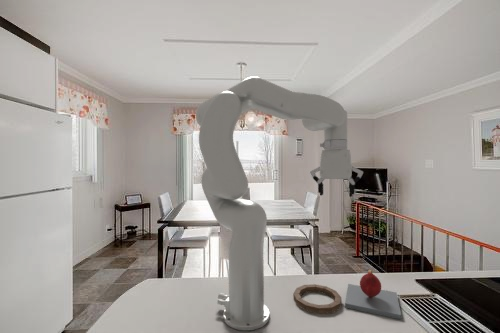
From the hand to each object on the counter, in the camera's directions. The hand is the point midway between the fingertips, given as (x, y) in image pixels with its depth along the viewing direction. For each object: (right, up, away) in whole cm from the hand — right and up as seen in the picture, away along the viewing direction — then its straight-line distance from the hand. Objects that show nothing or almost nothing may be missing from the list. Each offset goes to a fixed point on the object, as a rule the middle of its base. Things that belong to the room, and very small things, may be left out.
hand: (335, 195), depth 88 cm
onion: (+6, -29, -12) cm, 32 cm away
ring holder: (-9, -31, -11) cm, 34 cm away
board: (+7, -30, -12) cm, 33 cm away
